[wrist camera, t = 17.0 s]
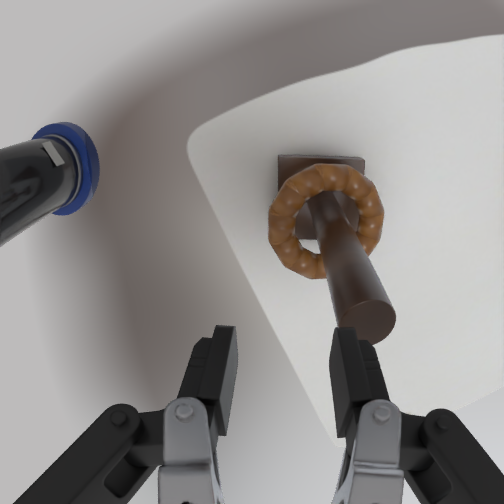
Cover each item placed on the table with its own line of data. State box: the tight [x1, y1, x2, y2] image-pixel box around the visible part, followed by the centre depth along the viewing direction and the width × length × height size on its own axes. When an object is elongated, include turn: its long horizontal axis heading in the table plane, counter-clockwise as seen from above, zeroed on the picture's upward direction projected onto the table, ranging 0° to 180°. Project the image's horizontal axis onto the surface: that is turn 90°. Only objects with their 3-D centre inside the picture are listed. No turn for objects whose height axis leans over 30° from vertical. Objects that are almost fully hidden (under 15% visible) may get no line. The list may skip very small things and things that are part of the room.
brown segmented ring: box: [268, 163, 384, 279], centre depth 23 cm, size 9×9×2 cm
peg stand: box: [278, 155, 396, 345], centre depth 21 cm, size 8×8×20 cm
